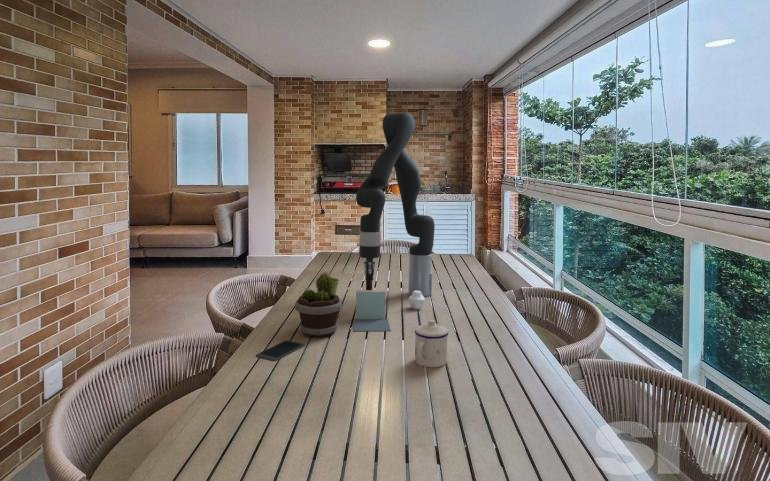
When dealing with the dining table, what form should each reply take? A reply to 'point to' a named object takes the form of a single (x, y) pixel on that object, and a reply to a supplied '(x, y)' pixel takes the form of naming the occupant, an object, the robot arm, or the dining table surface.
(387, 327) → the mat
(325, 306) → the flowerpot
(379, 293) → the tile
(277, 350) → the cell phone
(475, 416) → the dining table surface
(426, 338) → the teacup with lid
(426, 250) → the robot arm
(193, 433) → the dining table surface
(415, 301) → the white citrus juicer
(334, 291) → the plant pot
